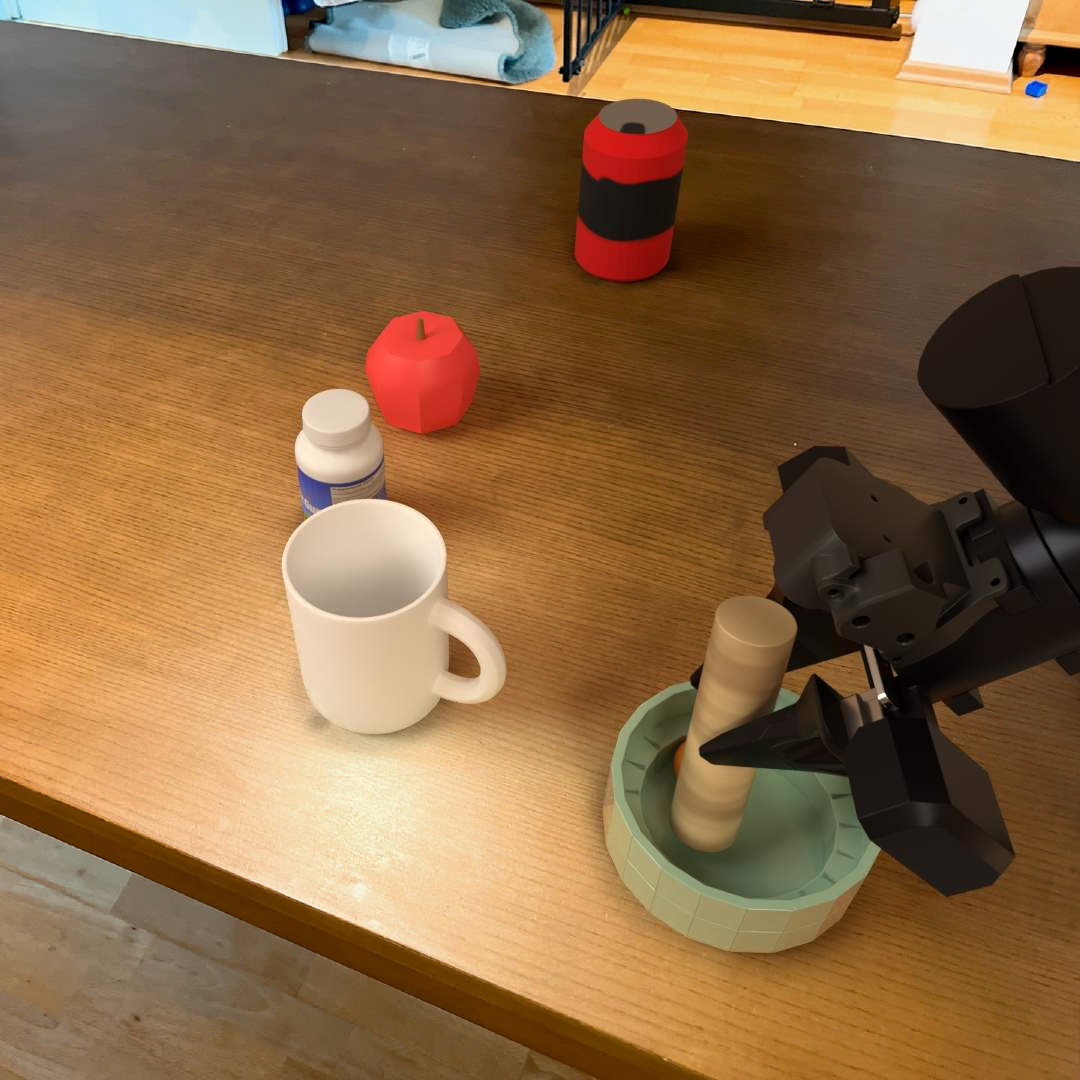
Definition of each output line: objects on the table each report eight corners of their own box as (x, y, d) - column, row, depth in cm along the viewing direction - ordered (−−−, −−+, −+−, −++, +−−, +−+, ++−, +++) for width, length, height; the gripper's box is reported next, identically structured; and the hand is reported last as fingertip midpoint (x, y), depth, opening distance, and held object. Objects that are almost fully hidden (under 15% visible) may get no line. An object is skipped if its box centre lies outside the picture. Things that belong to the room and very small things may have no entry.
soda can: (567, 278, 86) (577, 136, 78) (582, 229, 91) (594, 90, 82) (663, 288, 84) (685, 144, 76) (673, 237, 89) (695, 96, 80)
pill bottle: (295, 510, 71) (275, 395, 63) (371, 486, 72) (360, 370, 64) (322, 566, 67) (304, 451, 60) (402, 540, 68) (394, 423, 61)
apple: (345, 412, 77) (335, 319, 71) (427, 363, 80) (424, 270, 74) (420, 466, 73) (415, 372, 67) (503, 412, 76) (506, 318, 70)
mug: (534, 679, 60) (544, 555, 52) (466, 794, 55) (466, 677, 48) (352, 602, 65) (337, 479, 57) (276, 702, 60) (248, 582, 53)
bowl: (866, 770, 55) (895, 715, 51) (844, 995, 47) (876, 950, 44) (630, 706, 58) (641, 651, 55) (576, 906, 51) (585, 857, 47)
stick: (683, 789, 53) (731, 585, 45) (747, 818, 52) (808, 612, 44) (658, 832, 51) (703, 626, 43) (723, 864, 50) (783, 656, 42)
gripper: (891, 279, 41) (575, 478, 51) (1050, 667, 29) (588, 838, 38) (1028, 440, 46) (716, 595, 55) (1217, 835, 33) (770, 951, 43)
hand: (699, 719), depth 48 cm, fingers closed on stick, 3 cm apart
